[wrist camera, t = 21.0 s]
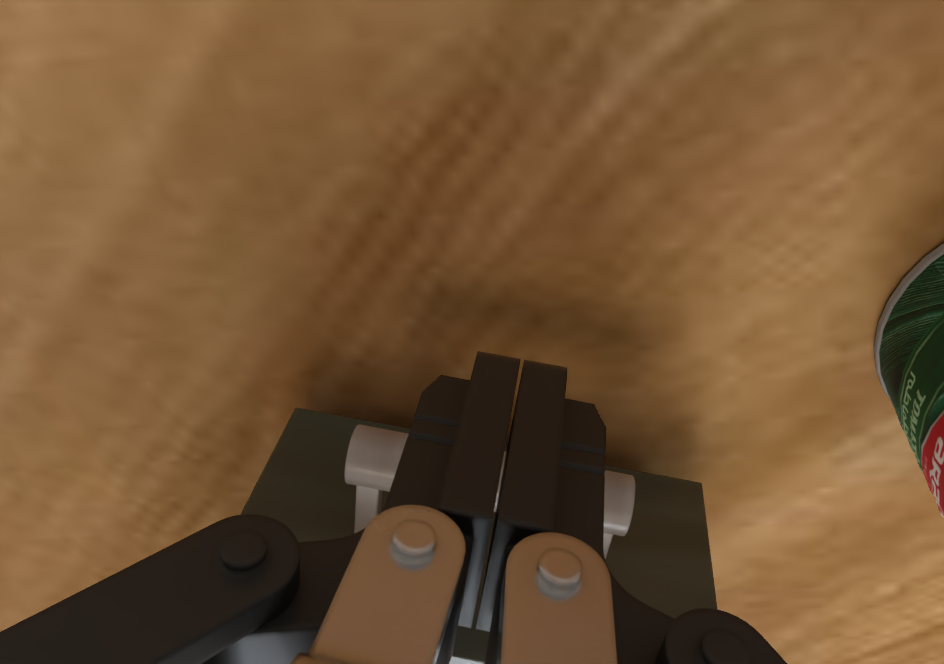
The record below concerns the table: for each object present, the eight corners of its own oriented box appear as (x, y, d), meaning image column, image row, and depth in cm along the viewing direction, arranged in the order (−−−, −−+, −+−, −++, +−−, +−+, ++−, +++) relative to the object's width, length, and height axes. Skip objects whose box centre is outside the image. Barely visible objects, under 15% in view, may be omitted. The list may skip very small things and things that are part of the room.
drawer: (293, 301, 24) (178, 486, 18) (741, 381, 23) (789, 604, 17) (299, 675, 35) (229, 871, 29) (602, 737, 35) (599, 952, 28)
